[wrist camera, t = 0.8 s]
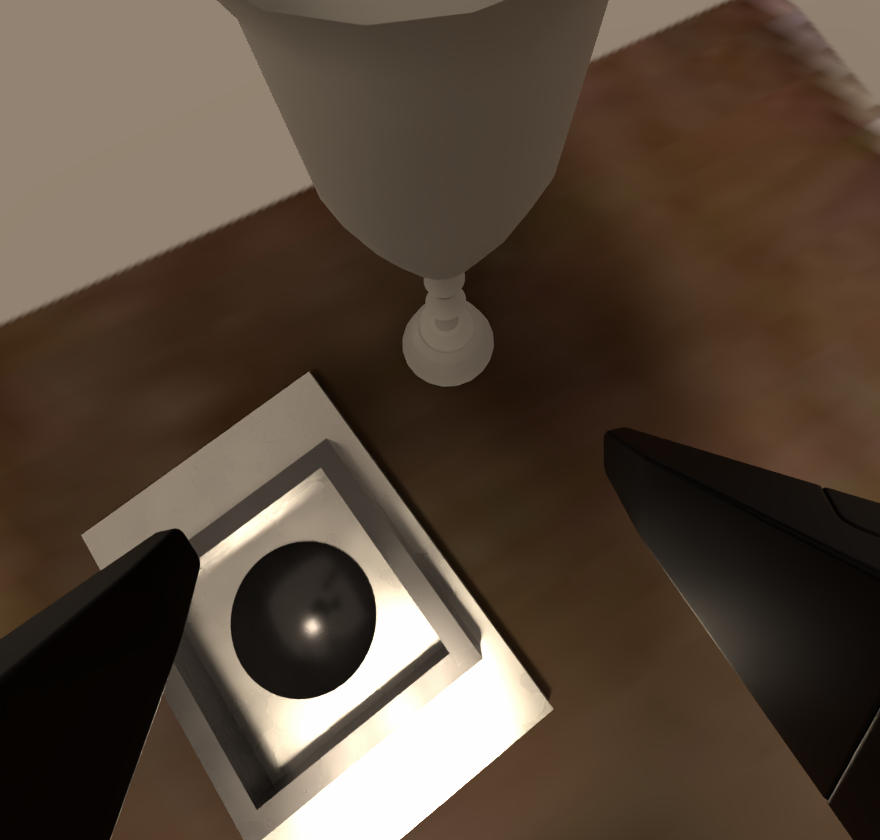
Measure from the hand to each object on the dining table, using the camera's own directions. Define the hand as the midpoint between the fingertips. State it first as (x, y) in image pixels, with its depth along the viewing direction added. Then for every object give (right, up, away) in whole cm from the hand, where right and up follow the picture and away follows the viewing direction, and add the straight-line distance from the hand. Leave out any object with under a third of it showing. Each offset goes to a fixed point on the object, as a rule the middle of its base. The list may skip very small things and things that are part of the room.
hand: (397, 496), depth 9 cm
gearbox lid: (-6, -8, +12) cm, 15 cm away
